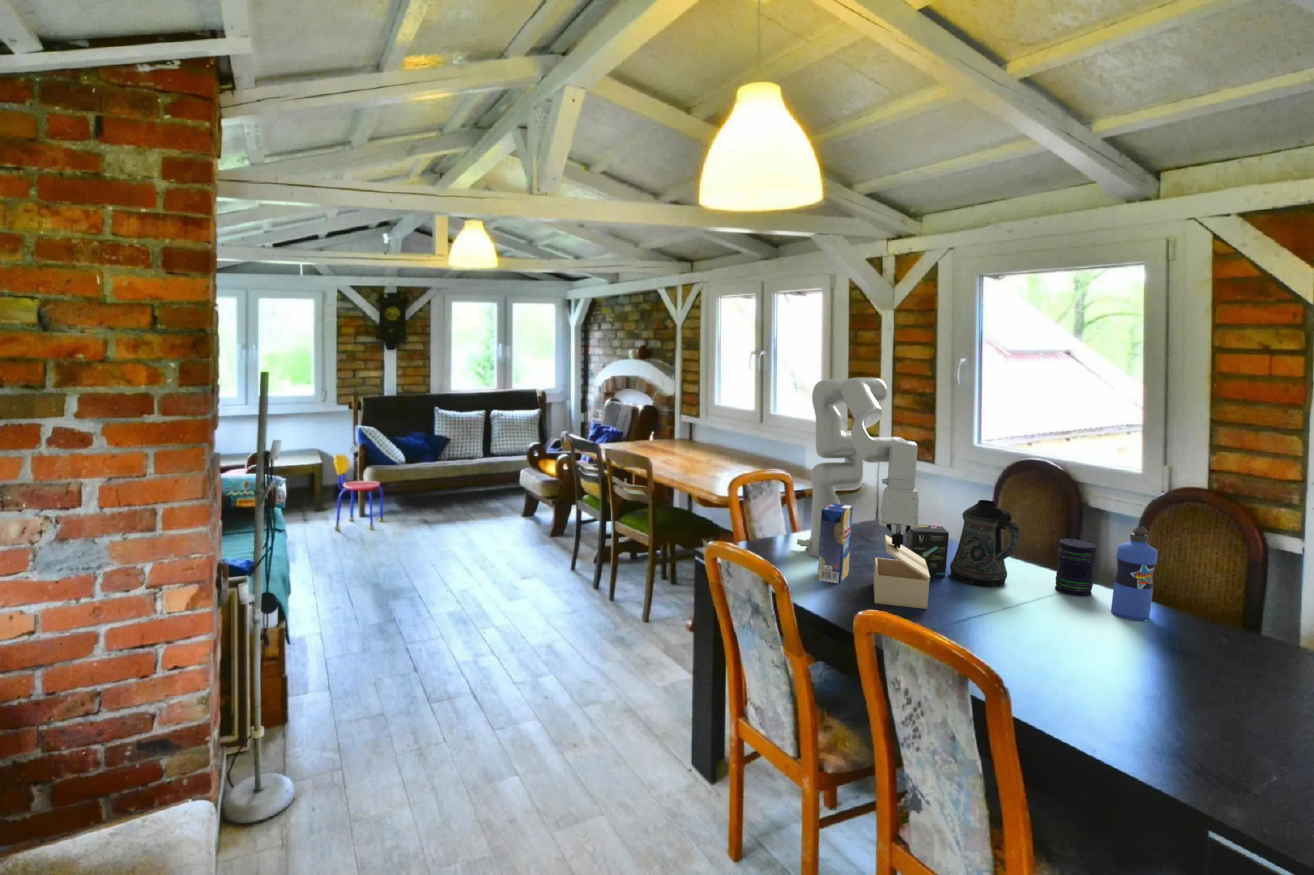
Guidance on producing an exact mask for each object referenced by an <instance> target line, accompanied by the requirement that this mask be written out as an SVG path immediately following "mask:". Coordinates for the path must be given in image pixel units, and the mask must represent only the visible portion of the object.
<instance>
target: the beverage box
mask: <svg viewBox="0 0 1314 875" xmlns="http://www.w3.org/2000/svg"><path fill="white" fill-rule="evenodd" d="M853 509H854V506H853V505H849V504H843V503H841V504H835V503H830V504H829V505H827V506H826V507H825V508H823V509H822V514H821V531H820V548H819V557H818V564H817V565H818V566H817V567H818V568H817V569H818V570H817V581H821V582H822V581H823V582H829V583H834V584H841V583H842V582H843V581H844V579H845V578H846V577H847V576H848V575H849V568H850V554H851V540H852V537H851V536H852V523H853Z"/></svg>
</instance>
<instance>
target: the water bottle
mask: <svg viewBox="0 0 1314 875" xmlns="http://www.w3.org/2000/svg"><path fill="white" fill-rule="evenodd" d="M1131 531H1132V532H1130V533H1129V541H1126V542H1123V543H1119V544H1117V549H1116V560H1117V561H1116V563H1117V565H1116V566H1117V568H1116V570H1117V572H1116V575H1115V579H1114V581H1113V582H1114V583H1113V591H1112V599H1111V607H1110V613H1111V614H1112V615H1114V616H1115V617H1118V618H1121V619H1124V620H1127V619H1128V620H1129V621H1133V622H1146V621H1145V620H1148V619H1149V620H1150V616H1151V608H1152V600H1153V590H1154V581H1153V577H1154V573H1155V570H1156V565H1157V563H1158V556H1159V550H1158V549H1157V548H1155V547H1152V546H1151V545H1149V543H1148V542H1149V535H1148V533H1149V530H1147V529H1146V527H1144V526H1141V525H1136V526H1134V527H1133V528H1132V529H1131ZM1128 620H1127V621H1128ZM1149 620H1148V621H1149Z"/></svg>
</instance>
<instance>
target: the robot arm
mask: <svg viewBox="0 0 1314 875" xmlns="http://www.w3.org/2000/svg"><path fill="white" fill-rule="evenodd" d="M887 397H888V389H887V385H886V384H885V382H884V381H883V380H882V379H881V378H878V377H851V378H847V379H846V378H845V379H844V378H838V379H837V378H829V379H827V378H826V379H823V380H820V381H818V382H817V383H816V384H815V385H814V387H813V389H812V394H811V399H812V400H811V401H812V406H813V409H814V415H815V451H816V454H817V456H818V457H820V458H822V459H844V462H837V461H836V462H835V461H834V462H830V461H829V462H828V461H827V462H822V463H818V464H816V465H814V466H813V467H812V469H811V472H810V480H811V487H812V488H811V489H812V503H811V504H812V505H811V521H810V522H811V525H810V526H811V527H810V536H809V538H807V539H802V538H801V539H800V538H796V540H797V541H796V545H798V546H799V547H805V548H804V549H805V550H804V552H805V554H807V555H808V556H811V557H814V558H819V548H820V531H821V514H822V509H823V508H825V507H826V506H827V505H829V504H830V503H835V504H842V503H841V501H840V498H839V496H838V495H837V493H836V491H853V490H854V491H855V490H858V489H859V488H860V487H861V486H862V484H863V478H864V462H866V463H869V464H870V463H872V464H873V463H875V464H876V463H879V464H880V463H888V467H887V469H888V470H887V477H886V478H882V481H881V484H885V485H886V486H885V487H884V489H883V492H882V498H881V505H880V519H879V521H878V525H879V526H882V527H884V528H887V529H888V530H889V531H890V532H891V533H892V534H891V538H892V544H894V548H897V547H898V548H900V545H903V544H904V535H905V534H907V531H908V530H910V529H916V528H918V525H919V524H918V523H919V503H920V502H919V492H918V490H917V489H916V476H917V475H916V474H917V464H918V463H917V460H918V459H917V458H918V444H917V443H916V442H915V441H912V440H906V439H904V438H902V437H900V436H870V434H868V432H867V430H866V429H868V428H870V427H873V426H874V425H876V424H877V423H878V422H879V421H880V419H881V418H882V415H883V409H882V408H881V404H883V403H884V402H885V401H886V400H887ZM836 405H840V406H841V405H842V406H847V409H848V410H849V412H850V413H851V416H852V417H853V419H854V422H853V424H852V427H851V430H850V429H848V430H846V429H845V430H843V427H842V414H841V413H840V411H839V410H838V408H837V407H836ZM897 525H899V526H900V528H899V531H897ZM903 546H904V545H903Z"/></svg>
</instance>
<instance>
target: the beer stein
mask: <svg viewBox="0 0 1314 875" xmlns="http://www.w3.org/2000/svg"><path fill="white" fill-rule="evenodd" d="M961 515H962V520H963V525H962V529H961V534H960V539H959V541H958V546H957V548H956V552H955V554H954V557H953V559H952V561H951V562H950V564H949V568H950V576H951V578H952V579H953V580H955V581H957V582H958V583H961V584H964V585H968V586H973V587H980V588H998V587H999V588H1000V587H1002V586H1004V585H1005V583H1006V580H1007V577H1008V570H1007V568H1006V563H1005V560H1006V559H1007V558H1009V557H1010V556H1011V555H1012V554H1013V553H1014V552H1016V550H1017V549H1018V547H1019V545H1020V543H1021V540H1022V539H1021V538H1022V537H1021V531H1020V527H1019V526H1018V525H1017V523H1016V522H1014V521H1012V515H1011V513H1010V512H1009V511H1008V510H1005V509H1002V508H1000V507H999V506H998V505H997V502H995V501H993V500H989V499H980V500H978V501H977V503H976V504H974V505H972V506H970V507H969V508H967V509H965V510H964V511H963V512H962V514H961ZM1003 530H1006V532H1008V533H1009V537H1010V541H1009V543H1008V544H1007V546H1006V547H1005V548H1004V538H1003V535H1004V534H1003Z"/></svg>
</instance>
